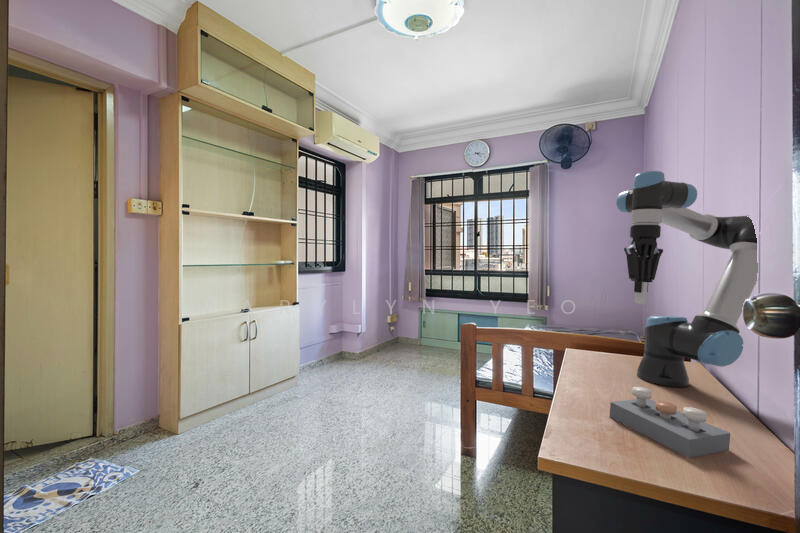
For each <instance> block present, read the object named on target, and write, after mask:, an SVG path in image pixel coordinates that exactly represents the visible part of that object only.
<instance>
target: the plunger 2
mask: <svg viewBox="0 0 800 533" xmlns="http://www.w3.org/2000/svg"><path fill="white" fill-rule="evenodd" d="M682 413H683V416H684V417H686V418H688V427H687V429H688V430H690V431H693V432H695V433H700V422H705V423H707V416H708V413H707V412H706V411H704V410H702V409H699V408H695V407H690V406H684V407H683V410H682Z"/></svg>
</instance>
